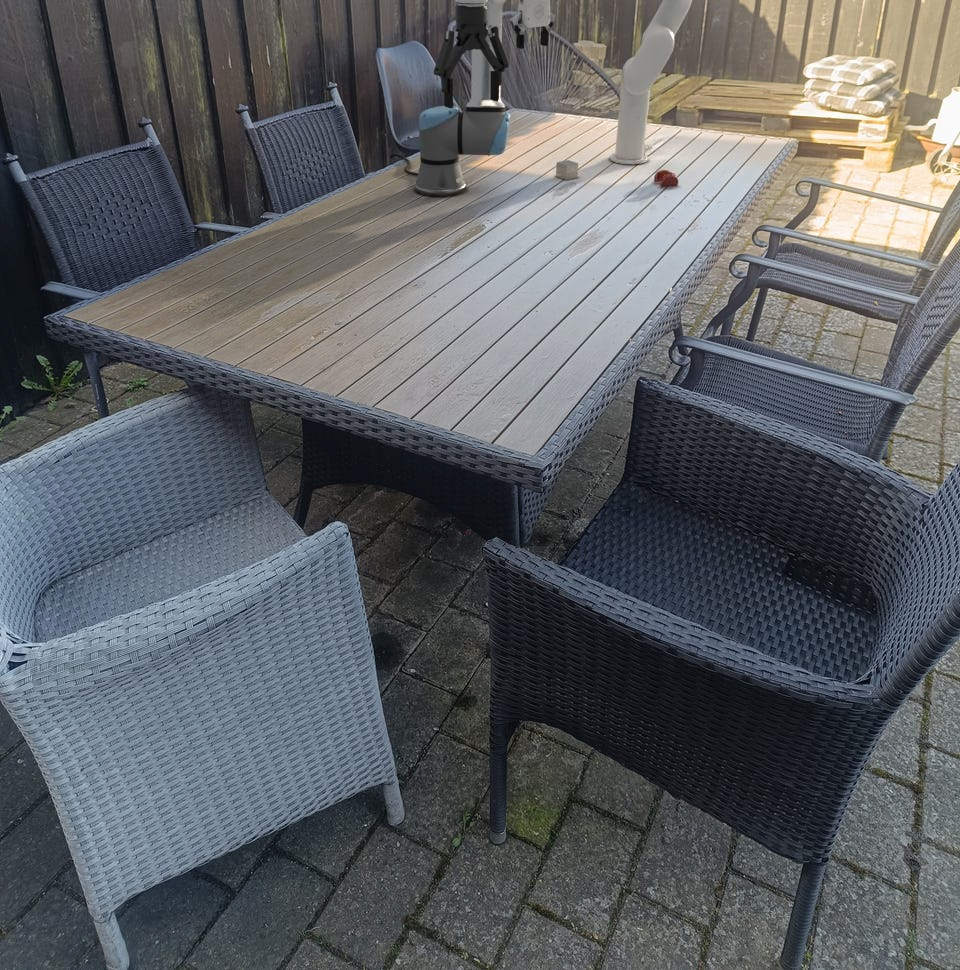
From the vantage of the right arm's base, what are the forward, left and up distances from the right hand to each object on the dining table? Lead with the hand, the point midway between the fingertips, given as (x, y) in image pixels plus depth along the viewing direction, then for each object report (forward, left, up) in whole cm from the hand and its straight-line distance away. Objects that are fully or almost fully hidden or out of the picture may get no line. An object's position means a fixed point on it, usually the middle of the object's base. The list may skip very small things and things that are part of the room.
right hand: (532, 46), depth 269 cm
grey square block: (+7, +25, -34) cm, 43 cm away
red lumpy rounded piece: (-10, +51, -34) cm, 62 cm away
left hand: (+66, +47, -1) cm, 81 cm away
